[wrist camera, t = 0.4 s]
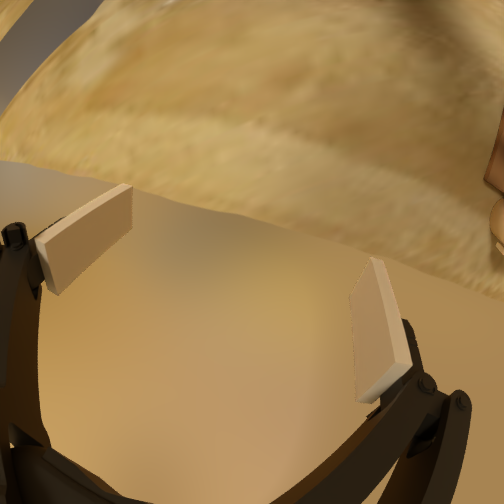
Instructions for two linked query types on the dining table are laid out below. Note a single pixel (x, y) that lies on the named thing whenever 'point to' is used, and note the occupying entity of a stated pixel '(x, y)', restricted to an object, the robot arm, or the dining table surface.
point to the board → (497, 160)
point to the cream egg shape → (498, 223)
